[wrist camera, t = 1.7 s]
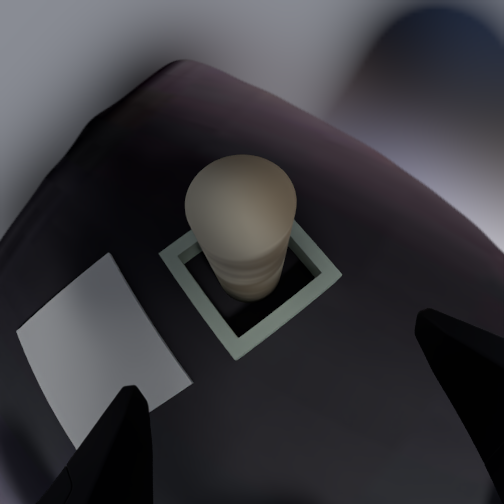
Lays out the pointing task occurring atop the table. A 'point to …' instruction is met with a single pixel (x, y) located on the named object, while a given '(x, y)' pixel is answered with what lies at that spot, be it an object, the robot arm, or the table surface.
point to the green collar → (240, 346)
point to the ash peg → (243, 222)
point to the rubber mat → (97, 349)
